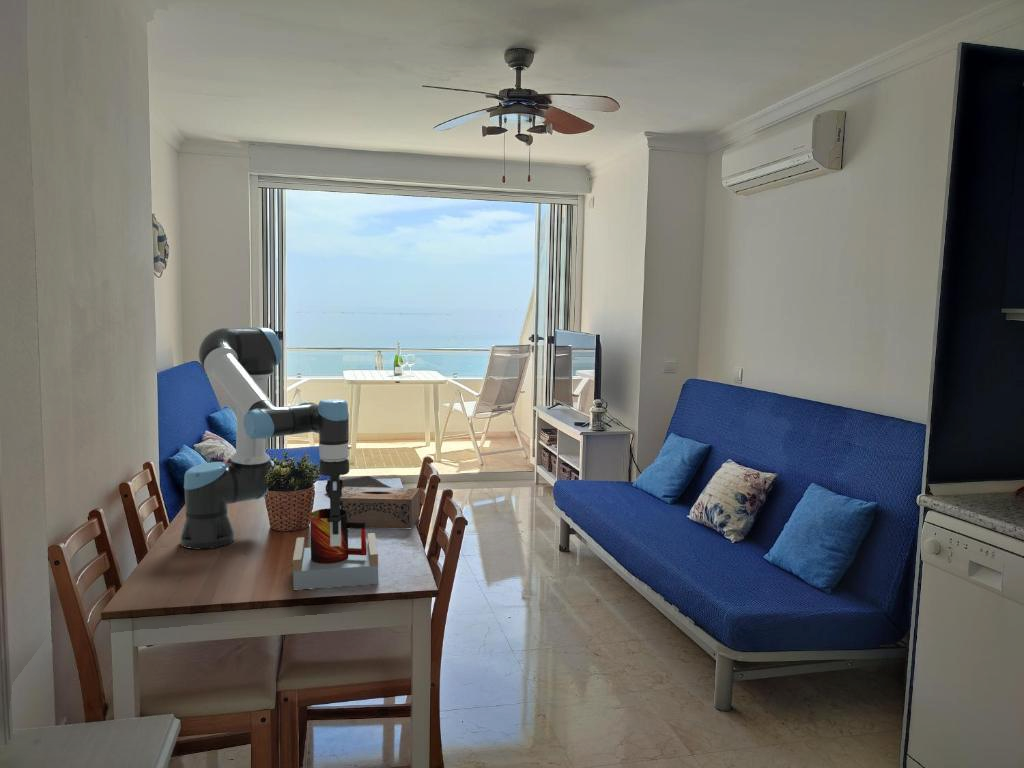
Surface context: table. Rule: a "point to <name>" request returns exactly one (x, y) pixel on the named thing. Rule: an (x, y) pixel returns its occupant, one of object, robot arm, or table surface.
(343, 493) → the tissue box cover
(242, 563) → the table surface
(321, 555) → the mug
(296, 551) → the notched stand
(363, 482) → the diary
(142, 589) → the table surface
